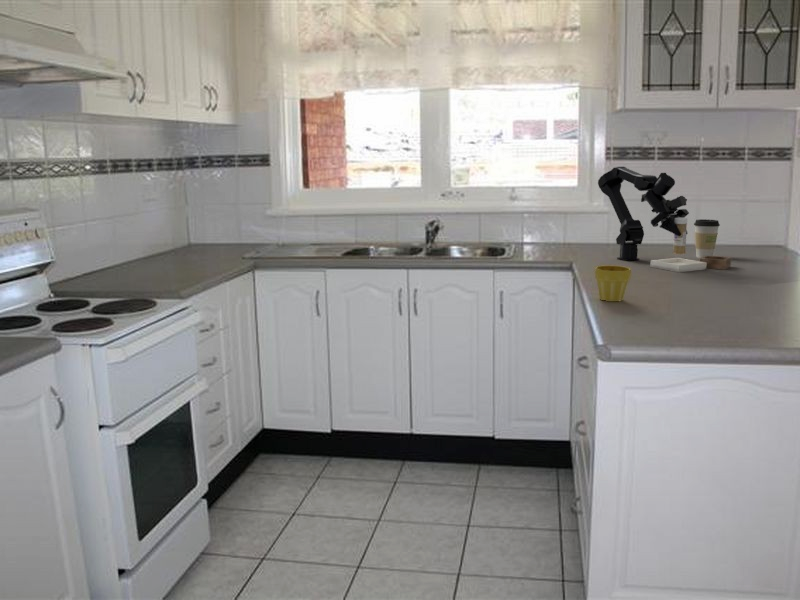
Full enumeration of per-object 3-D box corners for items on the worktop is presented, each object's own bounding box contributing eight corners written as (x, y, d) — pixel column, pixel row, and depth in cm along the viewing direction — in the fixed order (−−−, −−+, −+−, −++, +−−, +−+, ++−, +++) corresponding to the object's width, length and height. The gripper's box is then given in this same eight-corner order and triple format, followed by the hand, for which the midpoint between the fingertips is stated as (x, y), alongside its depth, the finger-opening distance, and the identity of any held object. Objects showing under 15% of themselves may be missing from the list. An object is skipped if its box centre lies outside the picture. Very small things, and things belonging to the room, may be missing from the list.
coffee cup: (719, 259, 312) (722, 221, 309) (693, 258, 314) (696, 221, 311) (714, 255, 321) (717, 219, 318) (689, 255, 323) (692, 219, 320)
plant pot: (631, 303, 228) (633, 271, 226) (594, 302, 229) (596, 270, 227) (627, 297, 238) (629, 265, 236) (592, 296, 239) (594, 264, 237)
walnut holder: (699, 267, 292) (700, 258, 291) (705, 264, 299) (706, 255, 298) (724, 269, 286) (725, 260, 286) (730, 266, 294) (731, 257, 293)
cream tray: (650, 266, 293) (650, 260, 293) (677, 264, 300) (677, 257, 299) (678, 272, 281) (679, 265, 281) (706, 269, 288) (706, 262, 287)
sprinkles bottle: (670, 253, 290) (671, 218, 287) (677, 252, 293) (678, 216, 290) (681, 255, 287) (682, 219, 284) (688, 253, 290) (689, 217, 286)
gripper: (660, 189, 281) (686, 222, 276) (685, 187, 294) (711, 219, 288) (639, 210, 289) (664, 242, 283) (665, 206, 301) (689, 238, 295)
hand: (683, 235), depth 287 cm, fingers closed on sprinkles bottle, 4 cm apart
